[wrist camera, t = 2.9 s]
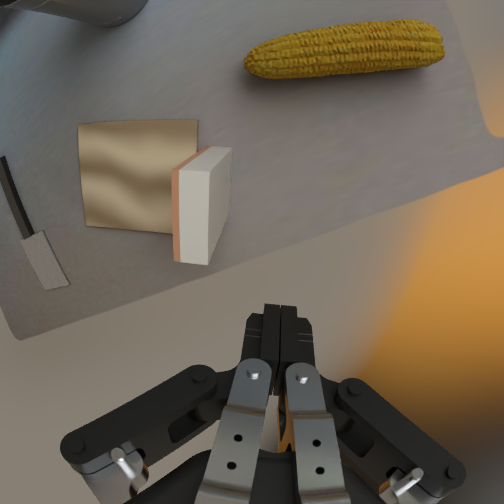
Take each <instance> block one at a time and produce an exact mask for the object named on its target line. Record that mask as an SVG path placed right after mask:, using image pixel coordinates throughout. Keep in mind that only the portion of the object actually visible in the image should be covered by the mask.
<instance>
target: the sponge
mask: <svg viewBox="0 0 504 504" xmlns="http://www.w3.org/2000/svg"><path fill="white" fill-rule="evenodd" d="M232 152H233V148H228V147H212V146H206V147H204V148H203V149H201V150H200V151H198V152H197V153H195V154H194V155H192V156H191V157H189V158H188V159H186V160H185V161H183V162H182V163H181V164H179V165H178V166H176V167H175V168H173V169H172V227H173V251H174V261H176V262H184V263H193V264H202V265H208V263H209V261H210V259H211V256H212V254H213V251H214V249H215V247H216V244H217V242H218V239H219V237H220V235H221V232H222V230H223V227H224V225H225V223H226V220H227V218H228V216H229V205H230V186H231V169H232Z"/></svg>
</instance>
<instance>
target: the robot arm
mask: <svg viewBox="0 0 504 504" xmlns="http://www.w3.org/2000/svg"><path fill="white" fill-rule="evenodd" d="M146 2H147V0H0V7H9V8H17V9H24V10H30V11H36V12H42V13H47V14H52V15H57V16H61V17H66V18H70V19H74V20H78V21H82V22H86V23H90V24H92V25H97V26H101V27H113V26H117V25H120V24H122V23H124V22H126V21H128V20H129V19H131V18H132V17H134V16H135V15H136V14H137V13H138V12H139V11H140V10H141V9H142V8H143V6H144V5H145V3H146ZM273 387H274V391H273ZM272 391H273V395H276V396H279V401H278V402H279V403H278V407H277V428H278V453H271V452H268V451H264V450H261V449H259V446H260V441H261V435H262V430H263V424H264V418H265V410H266V406H267V403H268V398H269V395H272ZM216 420H220V422H219V426H218V430H217V433H216V436H215V440H214V443H213V447H212V449H210V450H206V451H203V452H200V453H198V454H196V455H194V456H192V457H191V458H189V459H188V460H187V461H185V462H184V463H182V464H181V465H180V466H178V467H177V468H176V469H174V470H173V471H171V472H170V473H169V474H167V475H166V476H164V477H163V478H161V479H160V480H158V481H157V482H155V483H154V484H153V485H151V486H150V487H148V488H147V489H145V490H143V491H142V492H140V493H139V494H137V492H138V490H139V489H140V488H141V487H142V486H143V485H144V484H145V483H146V482H147V480H148V478H149V471H148V468H147V467H149V466H151V465H153V464H154V463H156V462H157V461H159V460H160V459H162V458H163V457H165V456H167V455H168V454H170V453H171V452H173V451H174V450H176V449H178V448H179V447H180V446H182V445H183V444H185V443H187V442H188V441H189V440H191V439H192V438H194V437H195V436H197V435H198V434H200V433H201V432H202V431H204V430H205V429H207V428H208V427H209V426H211V425H212V424H213V423H215V421H216ZM338 447H339V448H340V449H341V450H342V451H344V453H346V454H347V455H348V456H349V457H350V458H351V459H352V460H353V461H354V462H355V463H356V464H357V465H358V466H359V467H360V468H361V469H362V470H363V471H364V472H365V473H367V474H368V475H369V476H370V477H371V478H372V479H373V480H374V481H375V482H376V483H378V484H379V485H380V489H379V495H380V496H379V495H378V494H377V493H376V492H375V491H374V490H372V488H371V487H370V486H369V485H367V483H366V482H365V481H364V480H363V479H362V478H361V477H360V476H359V475H358V474H357V473H356V472H355V471H354V470H353V469H352V468H350V466H348V465H347V464H345V463H344V462H342V461H341V460H340V454H339V448H338ZM60 451H61V454H62V456H63V457H64V459H65V460H66V461H67V462H68V463H69V464H70V465H71V467H72V468H73V469H74V470H75V471H76V472H77V473H78V474H79V475H80V476H81V477H82V478H83V479H84V480H85V481H86V483H87V485H88V486H89V487H90V489H91V490H92V492H93V493H94V495H95V496H96V498H97V499H98V501H99V502H100V503H101V504H437V503H438V502H439V500H440V499H442V498H443V497H445V496H447V495H448V494H450V493H451V492H453V491H454V490H456V489H457V488H458V487H460V486H461V485H462V484H463V483H464V481H465V478H466V470H465V467H464V465H463V464H462V463H461V462H460V461H459V460H458V459H457V458H455V457H454V456H453V455H451V454H450V453H449V452H448V451H447V450H445V449H444V448H443V447H442V446H440V445H439V444H438V443H437V442H435V441H434V440H433V439H432V438H431V437H429V436H428V435H427V434H425V432H423V431H422V430H421V429H420V428H418V427H417V426H416V425H415V424H414V423H412V422H411V421H410V420H409V419H408V418H406V417H405V416H404V415H403V414H402V413H400V412H399V411H398V410H397V409H396V408H395V407H393V406H392V405H391V404H390V403H389V402H387V401H386V400H385V399H384V398H383V397H381V396H380V395H379V394H378V393H377V392H376V391H374V390H373V389H372V388H371V387H370V386H369V385H367V384H366V383H365V382H364V381H362V380H360V379H356V378H348V379H345V380H343V381H342V382H341V383H337V382H334V381H331V380H328V379H326V378H324V377H323V376H321V375H320V374H319V372H318V370H317V369H316V367H315V357H314V346H313V336H312V326H311V324H310V323H309V321H308V320H307V318H298V317H297V307H296V306H285V305H281V308H280V305H275V304H265V305H264V313H263V314H257V313H252V314H251V315H250V316H249V318H248V319H247V322H246V329H245V335H244V341H243V348H242V355H241V360H240V362H239V364H238V365H237V366H236V367H235V368H233V369H231V370H229V371H224V372H215V371H214V370H213V369H212V368H210V367H208V366H205V365H193V366H190V367H188V368H187V369H185V370H183V371H182V372H180V373H178V374H176V375H175V376H173V377H171V378H170V379H168V380H166V381H164V382H163V383H161V384H159V385H158V386H156V387H154V388H152V389H151V390H149V391H147V392H145V393H144V394H142V395H140V396H138V397H136V398H135V399H133V400H131V401H129V402H127V403H126V404H124V405H122V406H120V407H118V408H117V409H115V410H113V411H111V412H109V413H107V414H105V415H103V416H101V417H100V418H98V419H96V420H94V421H92V422H90V423H88V424H86V425H84V426H83V427H80V428H78V429H76V430H74V431H72V432H70V433H68V434H67V435H66V436H65V437H64V438H63V439H62V441H61V444H60Z"/></svg>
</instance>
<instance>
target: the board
mask: <svg viewBox="0 0 504 504" xmlns="http://www.w3.org/2000/svg"><path fill="white" fill-rule="evenodd" d="M198 123H199V120H131V121H112V122H97V123H86V124H78V140H79V159H80V173H81V184H82V194H83V203H84V211H85V218H86V225H87V226H98V227H109V228H119V229H130V230H140V231H151V232H161V233H171V234H173V227H172V169H173V168H175V167H176V166H178V165H179V164H181V163H182V162H183V161H185V160H186V159H188V158H189V157H191V156H192V155H194V154H195V153H197V147H198Z"/></svg>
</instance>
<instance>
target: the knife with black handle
mask: <svg viewBox="0 0 504 504" xmlns="http://www.w3.org/2000/svg"><path fill="white" fill-rule="evenodd" d="M0 181H1V184H2V187H3V190H4V192H5V195H6V198H7V200H8V203H9V205H10V208H11V210H12V213H13V215H14V218H15V220H16V222H17V225H18V227H19V229H20V231H21V233H22V236H23V238H24V239H22V240H20V243H21V245H22V247H23V249H24V251H25V253H26V255H27V257H28V259H29V261H30V263H31V265H32V267H33V269H34V271H35V273H36V274H37V276H38V278H39V280H40V282H41V284H42V285H43V287H44V289H45V290H49V289H53V288H58V287H62V286H67V285H70V282H69V280H68V278H67V276H66V274H65V272H64V271H63V269H62V267H61V265H60V263H59V261H58V259H57V257H56V255H55V253H54V251H53V249H52V247H51V245H50V243H49V240H48V238H47V236H46V234H45V232H44V230H42V231H40V232H38V233H34V231H33V228H32V226H31V224H30V222H29V219H28V217H27V215H26V212H25V210H24V207H23V205H22V202H21V200H20V197H19V195H18V192H17V190H16V187H15V184H14V181H13V179H12V176H11V173H10V170H9V167H8V164H7V161H6V158H5V156H3V157H0Z"/></svg>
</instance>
